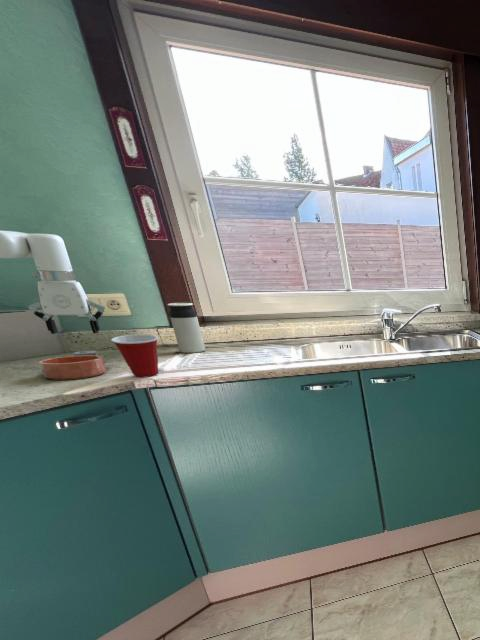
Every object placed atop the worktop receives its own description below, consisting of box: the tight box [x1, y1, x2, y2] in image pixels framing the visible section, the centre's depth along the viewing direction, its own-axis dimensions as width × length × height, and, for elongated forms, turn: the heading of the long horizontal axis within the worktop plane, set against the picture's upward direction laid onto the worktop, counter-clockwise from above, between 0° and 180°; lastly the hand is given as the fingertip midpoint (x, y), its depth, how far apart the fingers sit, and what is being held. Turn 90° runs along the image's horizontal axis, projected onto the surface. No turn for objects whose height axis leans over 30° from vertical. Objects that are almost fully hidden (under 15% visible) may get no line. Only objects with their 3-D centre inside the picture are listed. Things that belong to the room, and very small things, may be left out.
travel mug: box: [167, 302, 207, 354], centre depth 188 cm, size 8×8×18 cm
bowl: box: [38, 355, 107, 381], centre depth 151 cm, size 14×14×5 cm
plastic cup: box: [110, 334, 159, 378], centre depth 153 cm, size 11×11×12 cm
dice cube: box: [73, 350, 99, 356], centre depth 161 cm, size 5×5×5 cm
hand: (75, 332), depth 158 cm, fingers open, 9 cm apart
